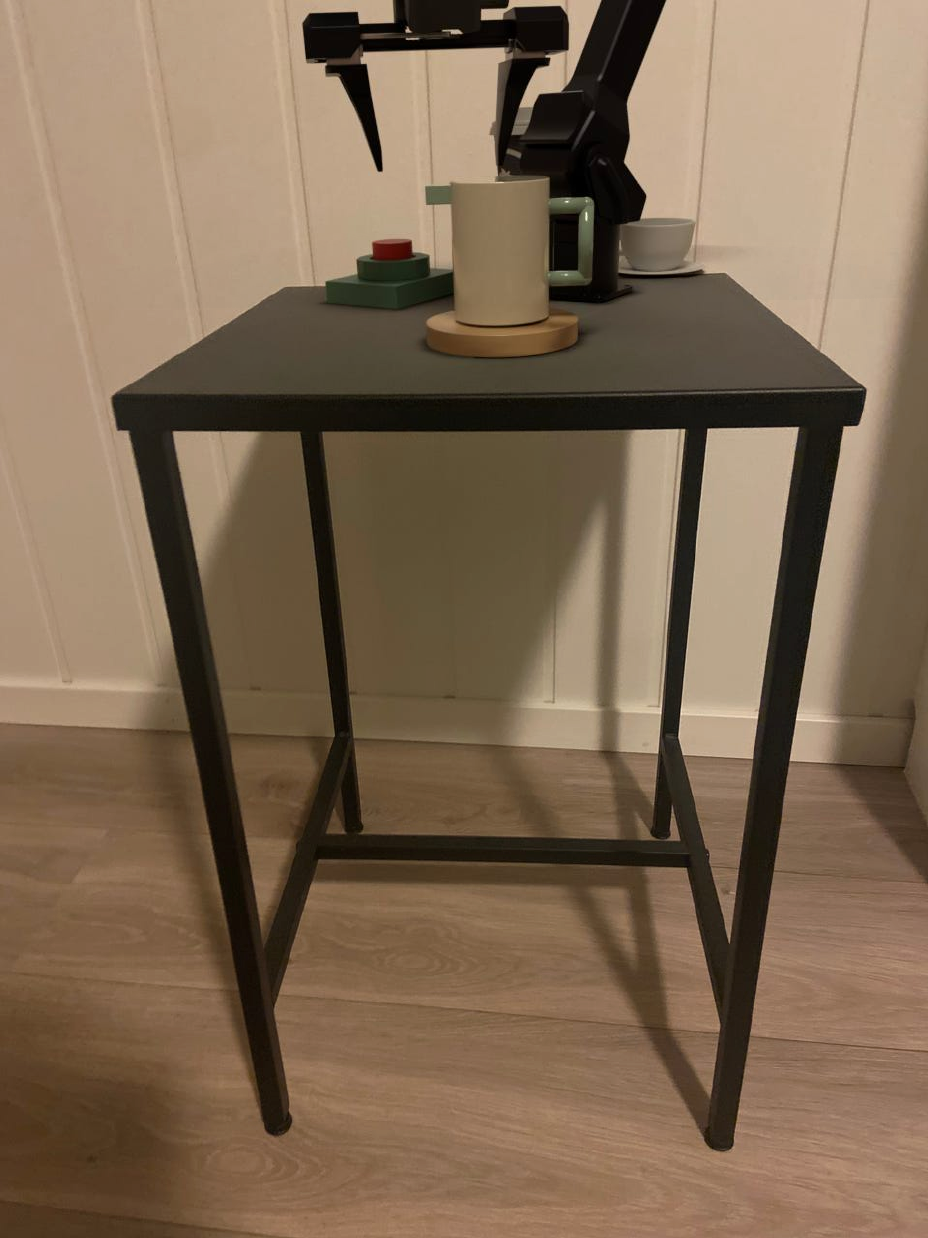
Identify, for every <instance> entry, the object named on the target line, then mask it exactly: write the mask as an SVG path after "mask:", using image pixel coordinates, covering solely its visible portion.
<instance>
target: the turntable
mask: <svg viewBox="0 0 928 1238" xmlns="http://www.w3.org/2000/svg"><path fill="white" fill-rule="evenodd" d="M425 332H426V333H425V334H426V335H425V336H426V345H427V346H428V347H429V348H430V349H432V350H434V351H436V352H439V353H442V354H449V355H452V356H453V355H454V356H461V357H472V358H494V359H495V358H518V357H529V356H536V355H537V356H538V355H543V354H549V353H554V352H557V351H562V350H564V349H568V348H570V347H572V346H574V345H575V344H576V343H577V341H578V340H579V317H578V315H576V314H575V313H573V312H571V311H568V310H564V309H560V308H555V307H549V316H548V317H547V318H545V319H543V320H540V321H536V322H532V323H526V324H518V325H502V326H488V325H474V324H467V323H463V322H460V321H457V320H456V319H455V311H454V310H450V311H445V312H442V313H439V314H436V315H433V316H431V317H429V318H428V319H427V320H426V321H425Z"/></svg>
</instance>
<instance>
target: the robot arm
mask: <svg viewBox="0 0 928 1238" xmlns="http://www.w3.org/2000/svg"><path fill="white" fill-rule="evenodd" d="M666 3H667V0H600V2H599V5H598V8H597V11H596V13H595V15H594V18H593V21H592V23H591V26H590V29H589V32H588V34H587V36H586V40H585V42H584V45H583V47H582V50H581V52H580V55H579V58H578V61H577V64H576V66H575V69H574V71H573V73H572V76H571V78H570V80H569V81H568V83H567V84H566V86H565V87H564V88H563V89H562V90H561V91H556V92H541V93H539V94H538V95H537V96H536V99H535V101H534V103H533V105H532V107H533V110H532V115H531V119H530V122H529V125H528V127H527V129H526V131H525V133H524V134H523V135H522V137H521V138H520V139H519V141H518V142H519V144H525V145H524V147H523V149H522V153H521V157H520V164H519V170H520V172H521V173H522V176H546V177H549V178H550V198H575V197H589V198H591V199H592V200H593V202H594V225H593V261H592V280H591V282H590V283H589V284H588V285H578V286H550V287H549V299H557V300H569V301H581V302H582V301H583V302H598V303H599V302H600V303H601V302H602V303H603V302H606V301H609V300H611V299H614V298H617V297H620V296H622V295H625V294H628V293H630V292H633V290H634V289H633V286H634V285H632V284H622V283H621V284H619V273H618V270H619V262H620V255H619V249H620V247H621V243H620V225H622V224H628V223H630V222H638V221H640V219H642V215H643V211H644V208H645V205H646V201H647V198H648V197H647V193H646V192H645V190H644V188H643V187H642V186H641V185H640V183H639V182H638V180H637V179H636V178H635V176H634V175H633V173H632V171H631V170H630V169H629V167H628V166H627V164H626V163H625V161H626V156H627V154H628V153H627V152H628V149H629V145H630V141H631V131H630V122H629V121H630V120H629V111H628V101H629V97H630V95H631V92H632V90H633V87H634V85H635V82H636V79H637V77H638V74H639V72H640V69H641V67H642V64H643V62H644V59H645V56H646V54H647V51H648V49H649V46H650V44H651V41H652V39H653V36H654V33H655V31H656V28H657V26H658V24H659V21H660V18H661V16H662V13H663V11H664V8H665V6H666ZM509 5H510V0H392V11H393V13H392V14H393V22H376V23H375V22H373V23H372V22H371V23H370V22H367V23H360V17H359V16H360V15H359V11H334V12H333V11H330V12H309V13H308V14H307V16H306V17H305V18H304V19H303V21H302V23H301V27H302V36H303V46H304V57H305V63H306V64H325V65H324V74H325V75H324V76H325V77H326V78H335V77H336V78H338V79H339V81H340V83H341V84H342V87H343V89H344V92H345V93H346V95H347V97H348V99H349V101H350V103H351V105H352V107H353V110H354V111H355V113H356V116H357V119H358V121H359V124H360V126H361V129H362V133H363V135H364V138H365V140H366V144H367V146H368V149H369V152H370V155H371V158H372V160H373V163H374V166H375V169H376V171H377V172H378V173H383V171H384V168H383V167H384V166H383V165H384V164H383V149H382V144H381V138H380V134H379V128H378V127H379V126H378V121H377V117H376V112H375V111H376V110H375V106H374V101H373V95H372V89H371V83H370V77H369V69H368V64H367V63H362V59H363V58H364V54H365V53H367V54H368V53H391V52H392V53H394V52H420V51H421V52H422V51H424V52H425V51H451V50H452V51H453V50H455V51H456V50H480V49H481V50H482V49H483V50H484V49H503V52H504V53H503V54H504V58H505V59H504V61H501V62H498V65H497V83H496V84H497V85H496V104H495V120H496V123H495V141H494V157H495V166H496V167H497V166H503V164H504V160H505V156H506V153H507V149H508V145H509V142H510V138H511V135H512V131H513V127H514V124H515V120H516V117H517V113H518V110H519V107H520V106H521V104H522V102H523V101H522V100H523V98H524V96H525V94H526V91H527V88H528V86H529V84H530V82H531V80H532V79H533V76H534V75H535V73H536V71H537V70H539V69H542V68H547V67H549V66H550V63H551V60H552V59H551V57H550V56H554V55H557V54H561V53H565V52H569V50H570V21H569V17H568V14H567V12H566V11H565V10H564V9H563V7H562V6H561V5H538V6H537V5H536V6H535V5H534V6H533V5H532V6H513V7H511V8H509V9H508V7H509ZM504 9H508V10H506V11H505V12H503V13H502V19H501V18H500V19H499V18H497V19H482V10H504ZM406 30H409V32H407V31H406ZM452 31H459V32H460V33H452ZM547 56H549V57H547ZM550 220H556V221H554V230H553V271H575V270H578V242H579V213H575V214H550Z"/></svg>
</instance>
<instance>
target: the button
mask: <svg viewBox="0 0 928 1238" xmlns="http://www.w3.org/2000/svg"><path fill="white" fill-rule="evenodd" d="M371 249H372V254H373V260H400V259H409V258H413V240H411V239H409V238H385V239H377V240H373V241H372V242H371Z"/></svg>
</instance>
